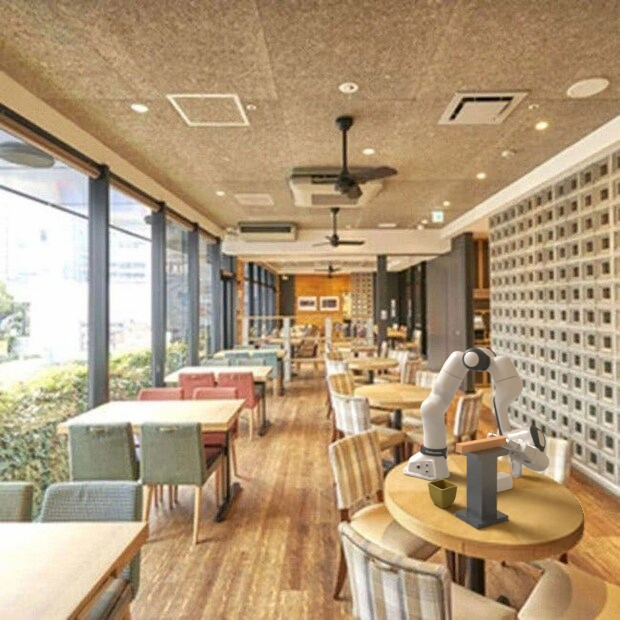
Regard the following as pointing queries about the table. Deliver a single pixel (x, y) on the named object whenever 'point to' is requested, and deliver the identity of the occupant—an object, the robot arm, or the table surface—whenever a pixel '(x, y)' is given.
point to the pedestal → (482, 488)
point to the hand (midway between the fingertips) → (498, 437)
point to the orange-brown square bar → (481, 444)
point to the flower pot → (442, 492)
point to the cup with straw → (515, 467)
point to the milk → (503, 481)
